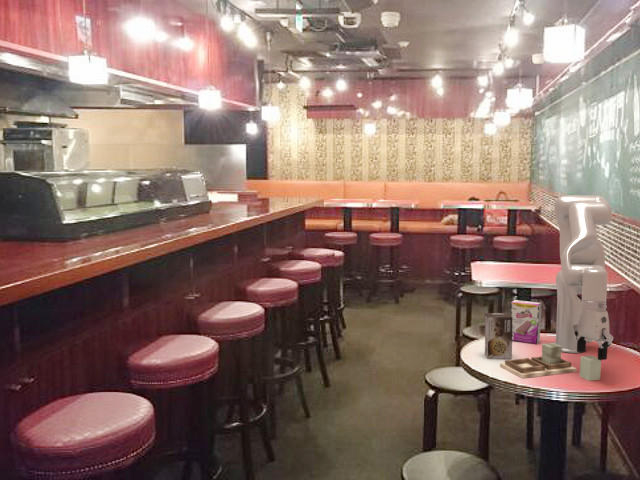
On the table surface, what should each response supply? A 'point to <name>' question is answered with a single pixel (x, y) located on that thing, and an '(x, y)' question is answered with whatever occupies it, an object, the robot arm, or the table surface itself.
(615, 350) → the table surface
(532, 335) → the candy bar box
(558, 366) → the socket base
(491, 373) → the table surface
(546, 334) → the table surface
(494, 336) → the cookie box
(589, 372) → the sage block
